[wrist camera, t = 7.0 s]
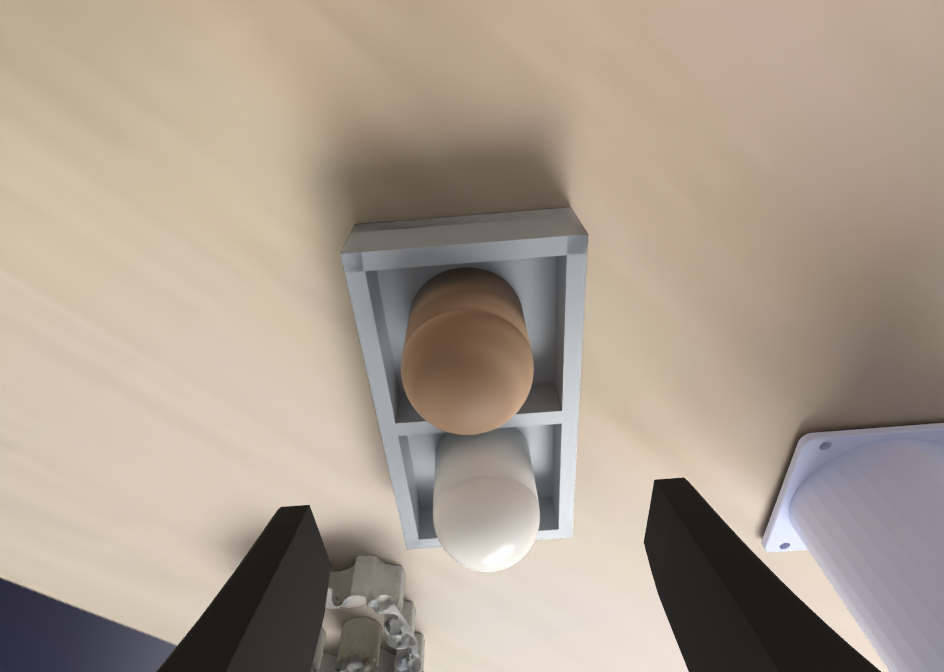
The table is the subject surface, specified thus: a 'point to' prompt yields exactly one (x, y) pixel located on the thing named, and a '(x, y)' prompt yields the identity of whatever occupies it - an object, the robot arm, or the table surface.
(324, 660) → the egg carton
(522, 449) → the cream egg
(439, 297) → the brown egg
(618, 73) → the table surface
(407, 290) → the holder
